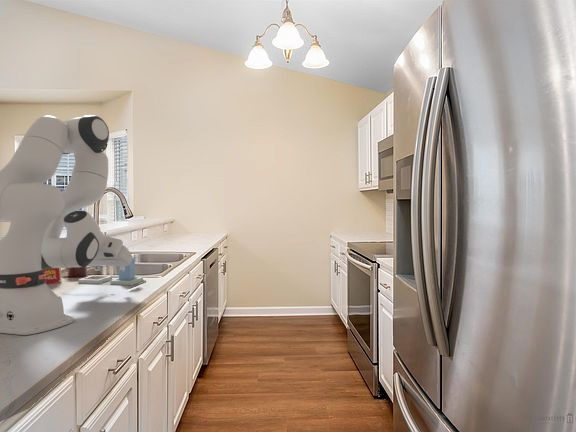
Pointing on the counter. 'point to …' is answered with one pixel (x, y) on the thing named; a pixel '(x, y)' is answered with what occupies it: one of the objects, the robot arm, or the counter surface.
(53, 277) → the red sauce bottle
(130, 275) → the light blue block
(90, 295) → the counter surface
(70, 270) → the mug
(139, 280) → the panel
